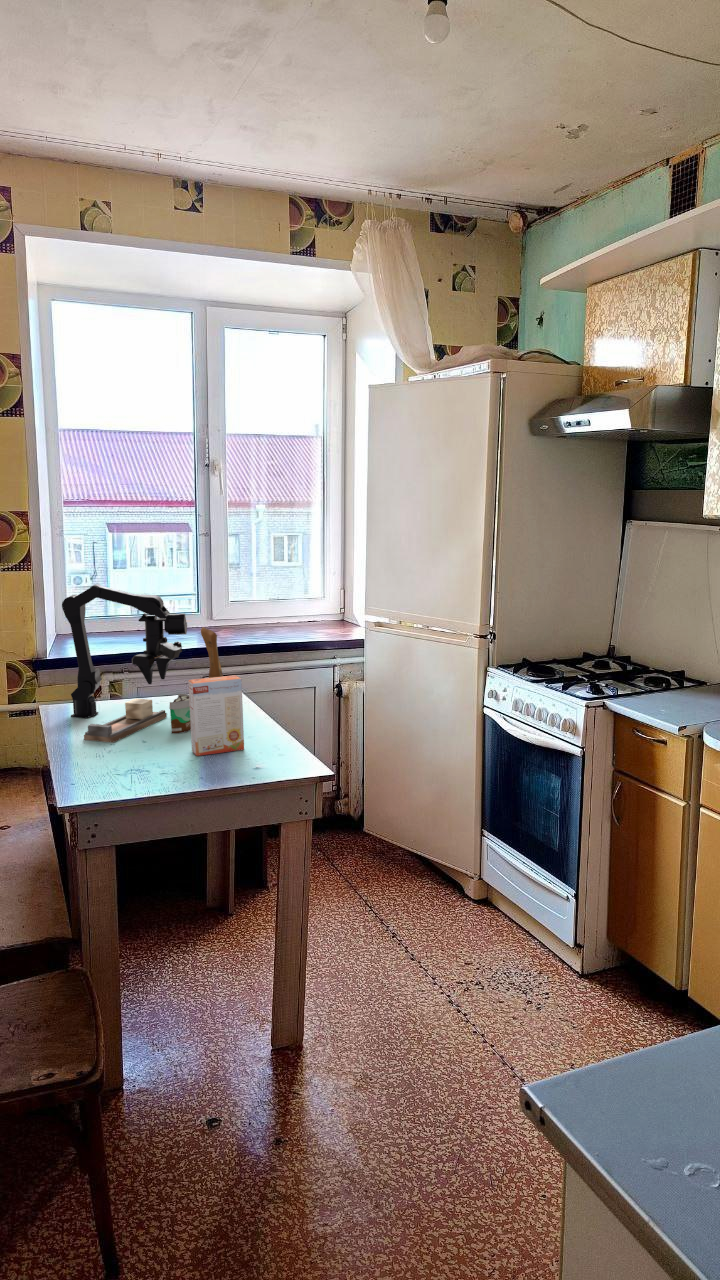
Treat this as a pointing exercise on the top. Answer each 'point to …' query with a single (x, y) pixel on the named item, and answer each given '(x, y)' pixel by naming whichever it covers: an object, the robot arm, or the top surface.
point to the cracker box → (216, 715)
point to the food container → (180, 714)
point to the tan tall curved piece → (212, 652)
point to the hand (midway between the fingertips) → (156, 681)
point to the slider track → (120, 727)
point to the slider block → (138, 708)
